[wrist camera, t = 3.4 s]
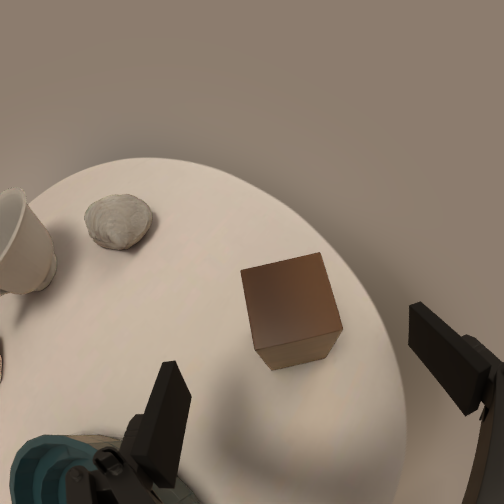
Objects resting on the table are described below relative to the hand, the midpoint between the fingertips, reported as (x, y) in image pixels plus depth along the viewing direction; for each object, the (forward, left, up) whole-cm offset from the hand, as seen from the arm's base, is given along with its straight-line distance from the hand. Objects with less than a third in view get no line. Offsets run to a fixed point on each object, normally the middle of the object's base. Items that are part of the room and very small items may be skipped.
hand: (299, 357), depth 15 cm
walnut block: (+2, -2, -9) cm, 9 cm away
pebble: (+24, -4, -9) cm, 26 cm away
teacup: (+32, +8, -9) cm, 34 cm away
